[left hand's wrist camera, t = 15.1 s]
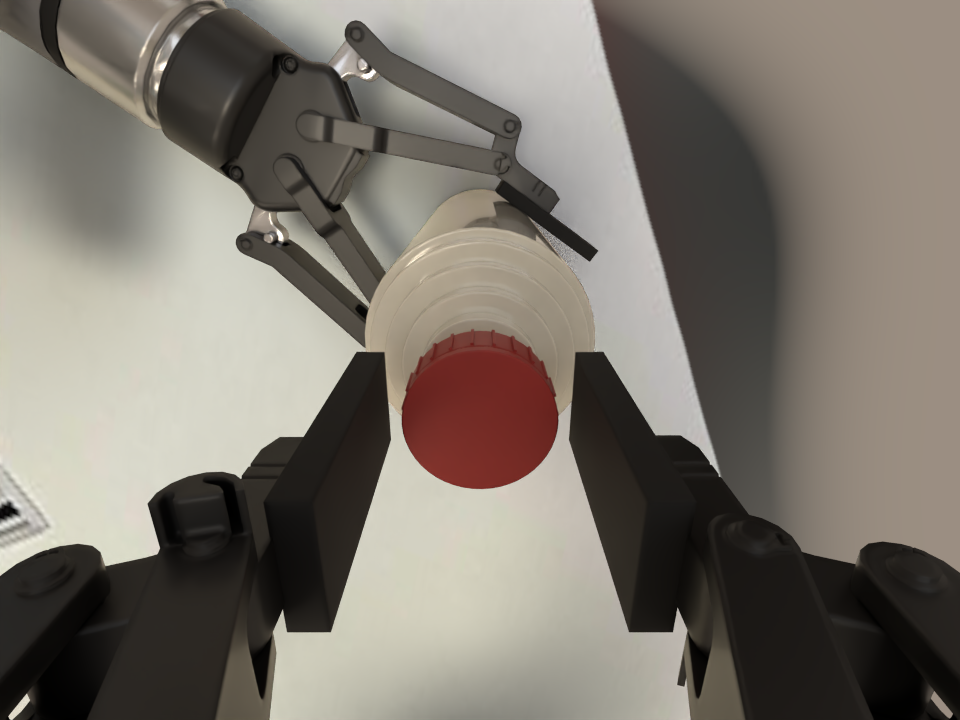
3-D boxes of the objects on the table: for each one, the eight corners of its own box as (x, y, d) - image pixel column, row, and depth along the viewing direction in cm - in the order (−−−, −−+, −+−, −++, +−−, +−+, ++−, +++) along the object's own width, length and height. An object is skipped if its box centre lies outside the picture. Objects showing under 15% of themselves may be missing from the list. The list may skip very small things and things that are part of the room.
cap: (403, 452, 15) (395, 483, 14) (411, 320, 14) (403, 339, 12) (540, 465, 15) (547, 497, 14) (563, 335, 14) (573, 357, 12)
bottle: (477, 162, 35) (473, 179, 11) (561, 247, 37) (702, 409, 14) (398, 251, 37) (259, 418, 14) (481, 326, 39) (484, 584, 16)
